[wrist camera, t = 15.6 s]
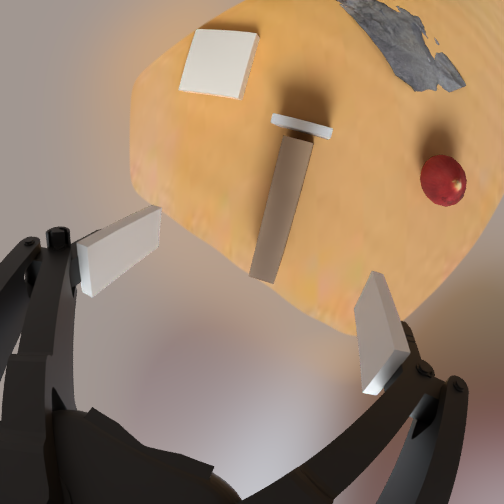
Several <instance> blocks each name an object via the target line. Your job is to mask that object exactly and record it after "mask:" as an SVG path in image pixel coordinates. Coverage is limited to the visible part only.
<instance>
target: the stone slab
mask: <svg viewBox="0 0 504 504" xmlns="http://www.w3.org/2000/svg"><path fill="white" fill-rule="evenodd" d="M336 1H339V2H340V3H342V4H343V5H342V4H340V5H341V6H342V7H343V8H344V9H345V10H346V11H347V12H348V13H349V14H350V15H351V16H352V17H353V18H354V19H355V20H356V22H357V23H358V24H359V25H360V26H361V27H362V28H363V29H364V30H365V31H366V33H367V34H368V35H369V36H370V38H371V39H372V40H373V42H374V43H375V44H376V45H377V47H378V48H379V49H380V51H381V52H382V53H383V55H384V56H385V58H386V59H387V61H388V63H389V64H390V66H391V67H392V69H393V71H394V73H395V75H396V76H397V77H399V78H400V79H402V80H403V81H404V82H406V83H407V84H409V85H410V86H411V87H412V88H413V90H414V91H424V90H427V89H430V90H434V91H436V90H437V89H438V88H437V84H439V85H440V86H442V88H444V89H445V90H447V91H448V92H451V91H454V90H457V89H459V88H462V87H464V86H466V84H465V82H464V81H463V79H462V77H461V76H460V74H459V72H458V71H457V70H456V68H455V67H454V65H453V64H452V63H451V61H450V60H449V59H448V57H447V56H446V55H445V54H443V53H442V52H441V53H436V56H435V60H434V58H433V57H432V56H431V54H430V52H429V49H428V47H427V46H426V45H425V42H424V40H423V37H422V33H423V34H424V35H425V36H426V32H425V30H424V26H423V24H422V22H421V20H420V18H419V17H418V16H413V15H411V14H410V13H409V12H408V11H406V10H405V9H402V8H399V6H396V7H397V8H398V10H399V11H400V13H399V12H396V11H395V10H393V9H391V8H390V7H388V6H387V5H386V4H384V3H381V2H379V1H377V0H336ZM426 37H427V36H426ZM427 38H428V37H427ZM435 41H436V43H437V44H438V45H439V43H438V41H437V40H436V39H435Z"/></svg>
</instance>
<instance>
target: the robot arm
mask: <svg viewBox="0 0 504 504" xmlns="http://www.w3.org/2000/svg"><path fill="white" fill-rule="evenodd" d="M161 212H162V208H161V207H158V206H154V205H151V206H148V207H146V208H144V209H142V210H140V211H138V212H135V213H134V214H131V215H129V216H127V217H125V218H123V219H121V220H119V221H117V222H115V223H113V224H111V225H109V226H107V227H105V228H103V229H100V230H96V231H95V232H92V233H91V234H89V235H87V236H85V237H83V238H82V239H80V240H77V241H76V242H74V243H72V244H71V242H70V230H69V229H68V228H66V227H54V228H51V229H49V230H48V231H47V232H46V240H47V248H43V247H41V245H40V239H39V238H37V237H27V238H25V239H23V240H22V241H20V242H19V243H18V244H17V245H16V246H15V248H14V249H13V250H12V251H11V252H10V253H9V254H8V255H7V256H6V257H5V258H4V260H3V261H2V262H1V263H0V381H1V378H2V375H3V373H4V370H5V368H6V365H7V368H6V375H5V382H4V391H3V401H2V420H1V421H0V504H332V503H333V500H334V499H335V498H336V497H337V496H338V495H339V494H340V493H341V492H342V491H343V490H344V489H346V488H347V487H348V486H349V485H350V484H351V483H352V482H353V481H354V480H355V479H356V478H357V477H358V476H359V475H360V474H361V473H362V472H363V471H364V470H365V469H366V468H367V467H368V466H369V465H370V463H371V462H372V461H373V460H374V459H375V458H376V457H377V456H378V455H379V454H380V452H381V451H382V450H383V449H384V448H385V447H386V446H387V444H388V443H389V442H390V441H391V439H392V438H393V437H394V436H395V434H396V433H397V432H398V431H399V429H400V428H401V427H402V425H403V424H404V423H405V421H406V420H407V419H408V417H409V416H410V417H412V418H413V421H412V424H411V427H410V430H409V432H408V435H407V438H406V440H405V443H404V445H403V448H402V450H401V453H400V455H399V458H398V460H397V462H396V465H395V467H394V469H393V471H392V473H391V475H390V477H389V479H388V482H387V484H386V486H385V487H384V489H383V491H382V493H381V495H380V497H379V499H378V501H377V502H376V504H448V502H449V499H450V495H451V492H452V489H453V485H454V482H455V478H456V474H457V470H458V466H459V461H460V456H461V451H462V445H463V440H464V433H465V426H466V418H467V407H468V394H469V391H468V387H467V384H466V383H465V381H464V380H463V379H461V378H460V377H458V376H451V377H449V378H448V380H447V381H446V382H444V381H442V380H440V379H438V378H436V377H434V376H435V374H434V370H433V368H432V367H431V366H430V365H429V364H428V363H427V362H426V361H424V360H421V357H420V354H419V351H418V348H417V345H416V343H415V339H414V337H413V333H412V330H411V328H410V327H409V326H408V324H407V323H406V322H403V321H400V318H399V315H398V312H397V309H396V307H395V304H394V301H393V298H392V296H391V293H390V290H389V288H388V285H387V283H386V280H385V277H384V275H383V274H381V273H378V272H375V271H371V274H370V276H369V278H368V280H367V282H366V285H365V287H364V289H363V291H362V293H361V295H360V297H359V299H358V301H357V303H356V305H355V307H354V312H355V320H356V328H357V337H358V346H359V356H360V368H361V381H362V392H363V393H366V394H372V395H377V394H378V393H379V392H380V391H381V390H382V389H383V388H384V391H385V393H384V394H383V395H382V396H381V397H380V398H379V399H378V400H377V401H376V402H375V403H374V404H373V405H372V406H371V407H370V408H369V409H368V410H367V411H366V412H365V413H364V414H363V415H362V416H361V417H360V418H358V419H357V420H356V421H355V422H354V423H353V424H352V425H351V426H350V427H349V428H347V429H346V430H345V431H344V432H343V433H342V434H341V435H339V436H338V437H337V438H336V439H335V440H333V441H332V442H331V443H330V444H329V445H327V446H326V447H325V448H324V449H322V450H321V451H320V452H318V453H317V454H316V455H315V456H313V457H312V458H311V459H309V460H308V461H306V462H305V463H304V464H302V465H301V466H299V467H297V468H296V469H294V470H293V471H291V472H289V473H288V474H286V475H285V476H284V477H282V478H280V479H279V480H277V481H275V482H274V483H272V484H271V485H269V486H267V487H265V488H264V489H262V490H260V491H259V492H257V493H255V494H254V495H251V496H250V497H248V498H246V499H244V500H241V498H240V497H239V495H238V494H237V492H236V491H235V490H234V489H233V488H232V487H231V486H230V485H229V484H228V483H227V482H226V481H224V480H223V479H222V478H220V477H219V476H217V475H215V474H214V473H212V471H213V469H214V466H212V465H209V464H206V463H203V462H200V461H197V460H195V459H192V458H190V457H187V456H184V455H182V454H177V453H173V452H167V451H163V450H158V449H154V448H150V447H146V446H144V445H142V444H141V443H140V442H139V441H137V440H136V439H135V438H134V437H133V436H132V435H131V434H129V433H128V432H127V431H126V430H125V429H124V428H123V427H122V426H121V425H120V424H119V423H117V422H115V421H114V420H112V419H110V418H109V417H107V416H105V415H104V414H102V413H101V412H99V411H97V410H96V409H94V408H93V407H92V408H91V410H90V411H89V412H88V413H87V412H83V411H77V408H76V405H75V401H74V385H73V335H74V318H75V306H76V296H77V289H76V285H77V284H79V283H80V282H81V286H82V292H83V293H85V294H87V295H89V296H91V297H94V296H95V295H96V294H98V293H99V292H100V291H101V290H103V289H104V288H105V287H106V286H108V285H109V284H110V283H112V282H113V281H114V280H115V279H117V278H118V277H119V276H121V275H122V274H123V273H124V272H126V271H127V270H128V269H130V268H131V267H132V266H134V265H135V264H136V263H137V262H139V261H140V260H142V259H143V258H144V257H146V256H147V255H148V254H150V253H151V252H152V251H154V250H155V249H156V248H158V247H159V234H160V222H161ZM24 274H25V280H24ZM21 332H22V333H21ZM20 334H21V338H20V343H19V349H18V353H17V354H12V351H13V349H14V347H15V345H16V343H17V340H18V338H19V336H20Z"/></svg>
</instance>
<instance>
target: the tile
mask: <svg viewBox="0 0 504 504" xmlns="http://www.w3.org/2000/svg"><path fill="white" fill-rule="evenodd" d="M259 40H260V38H259V36H258V35H257V33H251V32H241V31H229V30H210V29H196V32H195V35H194V38H193V41H192V44H191V47H190V50H189V54H188V57H187V61H186V64H185V68H184V71H183V75H182V79H181V83H180V86H179V90H181V91H184V92H191V93H199V94H207V95H214V96H220V97H227V98H232V99H238V100H243V96H244V92H245V88H246V85H247V81H248V78H249V74H250V70H251V67H252V63H253V60H254V56H255V53H256V50H257V46H258V43H259Z"/></svg>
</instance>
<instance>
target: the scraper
mask: <svg viewBox="0 0 504 504" xmlns="http://www.w3.org/2000/svg"><path fill="white" fill-rule="evenodd" d="M271 123H273V124H275V125H277V126H279V127H283V128H287V129H291V130H295V131H299V132H303V133H306V134H310V135H314V136H317V137H321V138H324V139H327V140H328V139H330V138H331V135H332V131H333V129H332V128H329V127H326V126H322V125H319V124H315V123H312V122H308V121H304V120H300V119H296V118H292V117H288V116H284V115H279V114H275V113H273V115H272V119H271ZM313 145H314V144H313V143H310V142H307V141H303V140H299V139H295V138H292V137H288V136H284V135H283V139H282V143H281V147H280V151H279V155H278V159H277V163H276V167H275V171H274V175H273V179H272V183H271V187H270V191H269V196H268V200H267V204H266V208H265V212H264V216H263V220H262V224H261V228H260V232H259V236H258V240H257V244H256V248H255V252H254V256H253V260H252V264H251V268H250V272H249V276H250V277H253V278H256V279H259V280H262V281H265V282H269V283H272V284H274V281H275V278H276V275H277V272H278V269H279V266H280V263H281V259H282V256H283V253H284V249H285V246H286V242H287V239H288V236H289V232H290V229H291V225H292V222H293V218H294V215H295V211H296V208H297V204H298V200H299V197H300V193H301V190H302V186H303V182H304V179H305V175H306V171H307V167H308V164H309V160H310V156H311V152H312V148H313Z"/></svg>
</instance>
